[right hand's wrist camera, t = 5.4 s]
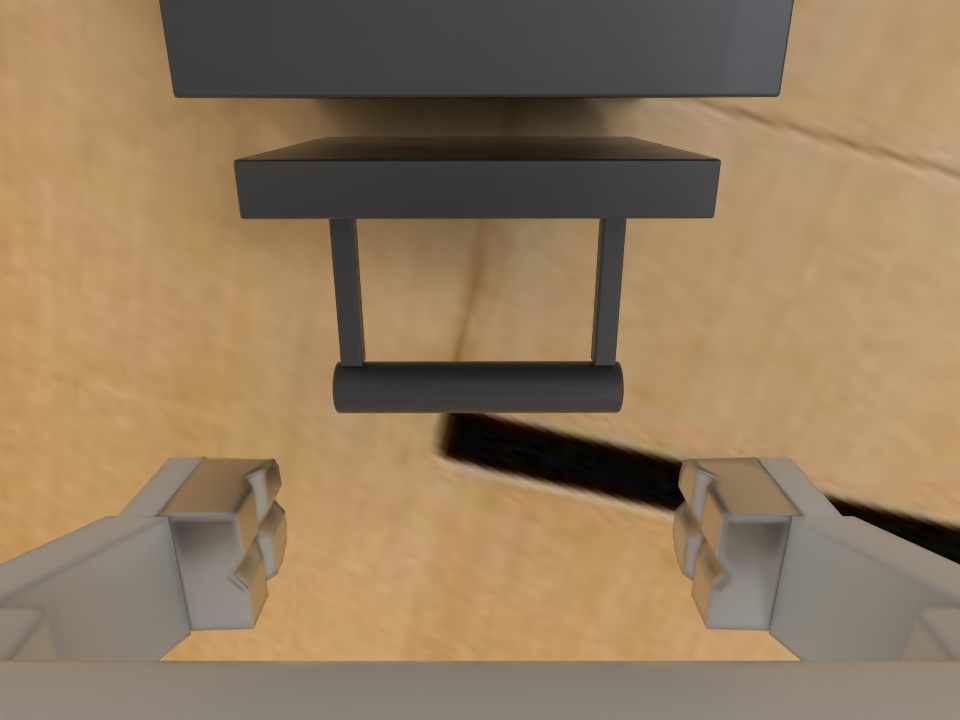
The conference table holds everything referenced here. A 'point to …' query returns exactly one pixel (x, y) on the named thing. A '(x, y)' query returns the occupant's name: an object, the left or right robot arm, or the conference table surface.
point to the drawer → (477, 195)
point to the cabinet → (476, 48)
